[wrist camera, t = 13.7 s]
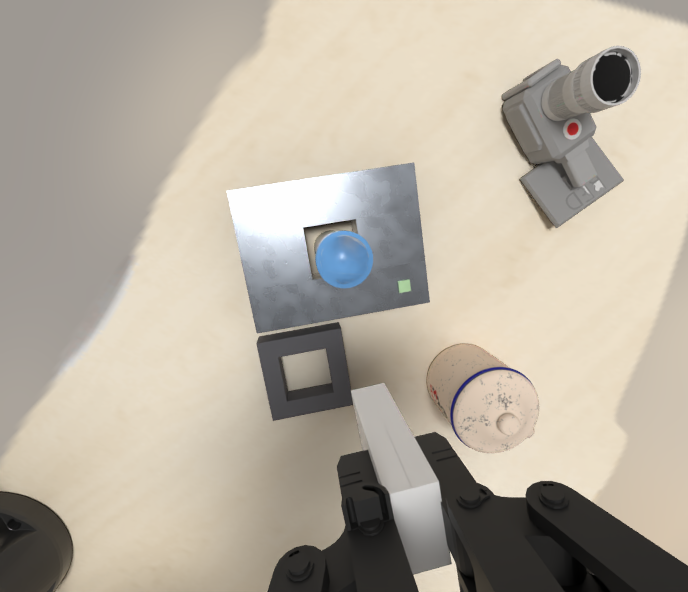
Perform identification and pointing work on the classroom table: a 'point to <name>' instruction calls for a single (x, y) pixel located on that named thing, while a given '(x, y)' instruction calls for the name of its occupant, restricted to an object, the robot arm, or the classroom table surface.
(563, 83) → the camera
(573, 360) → the classroom table surface
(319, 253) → the plug
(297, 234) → the port panel
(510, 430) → the teacup with lid
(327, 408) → the frame
